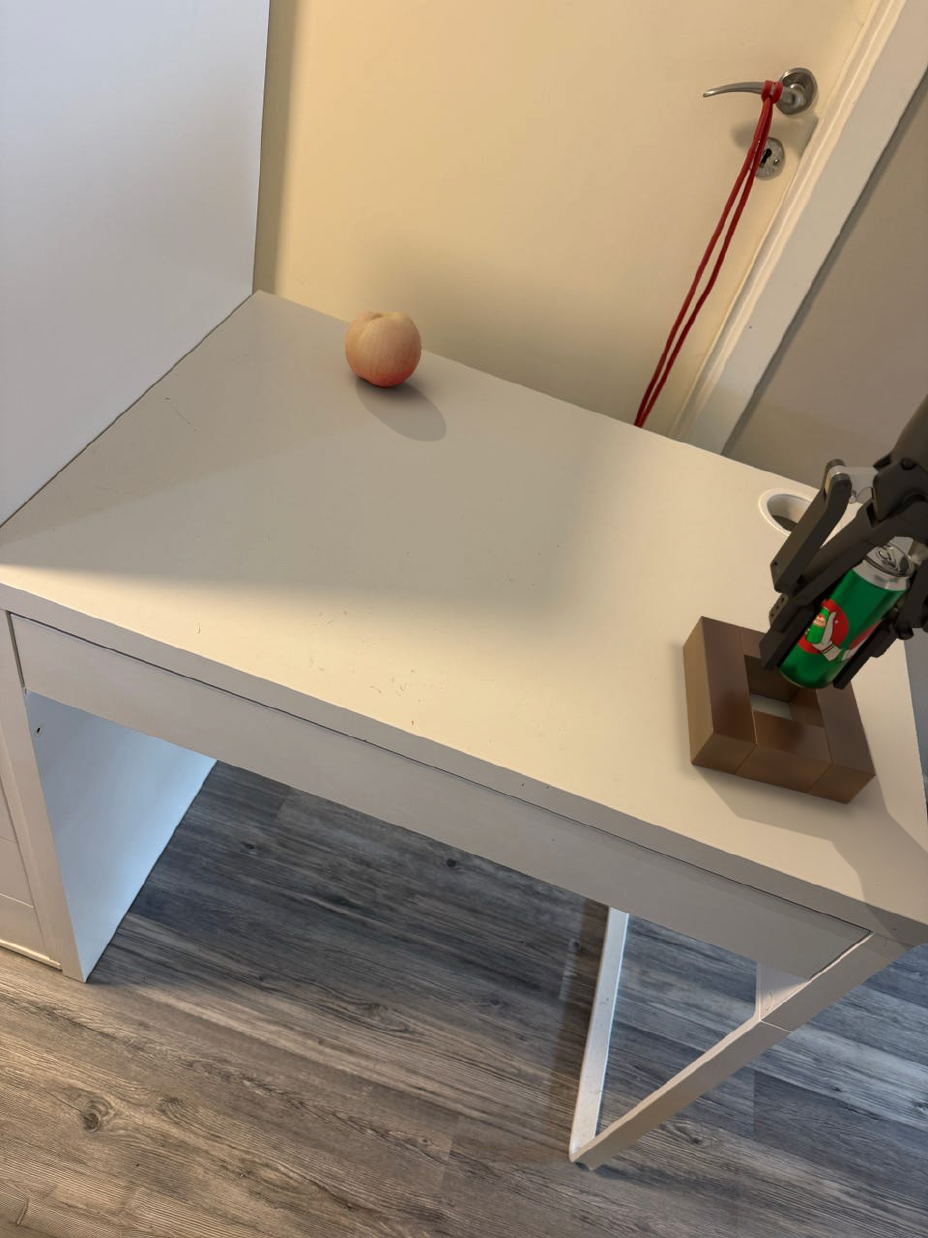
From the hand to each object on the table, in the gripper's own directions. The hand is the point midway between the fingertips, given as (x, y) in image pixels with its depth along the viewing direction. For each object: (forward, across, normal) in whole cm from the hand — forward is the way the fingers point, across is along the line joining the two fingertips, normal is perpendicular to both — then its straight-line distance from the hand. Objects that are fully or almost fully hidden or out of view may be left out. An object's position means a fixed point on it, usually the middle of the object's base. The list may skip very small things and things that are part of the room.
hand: (800, 666), depth 66 cm
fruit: (+7, +41, -37) cm, 56 cm away
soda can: (0, 0, 0) cm, 0 cm away
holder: (+7, 0, 0) cm, 7 cm away
